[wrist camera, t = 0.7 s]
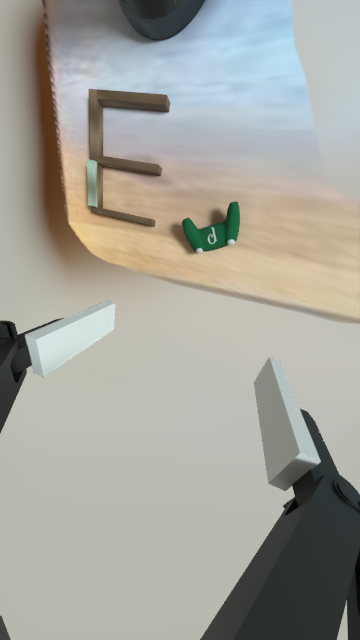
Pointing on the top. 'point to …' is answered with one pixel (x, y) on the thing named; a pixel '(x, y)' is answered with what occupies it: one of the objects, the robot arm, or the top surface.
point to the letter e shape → (98, 160)
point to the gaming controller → (214, 232)
